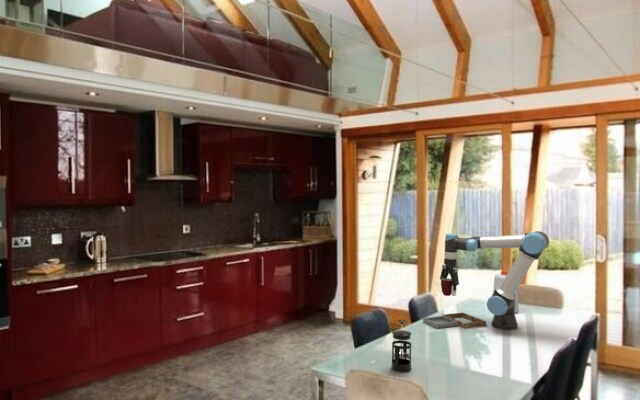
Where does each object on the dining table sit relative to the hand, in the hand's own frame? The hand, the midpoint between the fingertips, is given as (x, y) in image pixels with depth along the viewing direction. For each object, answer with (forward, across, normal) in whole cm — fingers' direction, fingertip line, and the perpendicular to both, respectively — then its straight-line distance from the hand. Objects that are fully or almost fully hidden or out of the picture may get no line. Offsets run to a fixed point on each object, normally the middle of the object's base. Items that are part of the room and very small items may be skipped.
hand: (448, 293), depth 314 cm
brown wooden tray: (+18, +2, +11) cm, 22 cm away
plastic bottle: (+18, -15, +55) cm, 60 cm away
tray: (+19, +2, -6) cm, 20 cm away
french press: (+19, +63, -65) cm, 92 cm away
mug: (+1, 0, 0) cm, 1 cm away
